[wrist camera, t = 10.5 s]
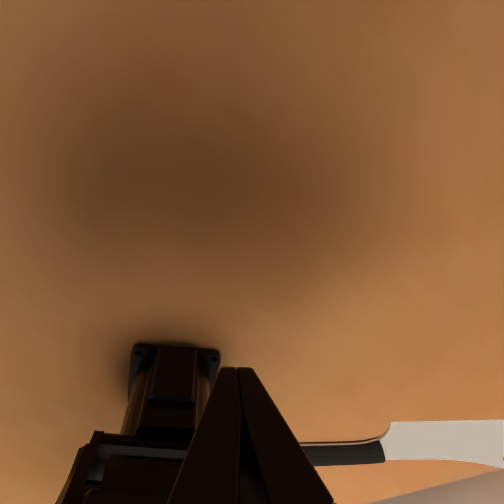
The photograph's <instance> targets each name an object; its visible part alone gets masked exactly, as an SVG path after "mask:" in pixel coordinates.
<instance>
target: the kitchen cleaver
mask: <svg viewBox="0 0 504 504" xmlns="http://www.w3.org/2000/svg"><path fill="white" fill-rule="evenodd" d="M299 444H300V446H301V447H302V449H303V450H304V452H305V454H306V455H307V457H308V459H309V460H310V462H311V463H312V465H313V466H333V465H358V464H373V463H383V462H385V460H409V459H442V460H456V461H466V462H474V463H480V464H486V465H490V466H494V467H499V468H504V459H503V458H504V420H465V421H419V422H391V424H390V426H389V428H388V429H387V431H386V432H385V433H384V434H383V435H382V436H380V437H379V438H372V439H368V440H363V441H351V442H314V443H299Z"/></svg>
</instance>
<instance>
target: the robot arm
mask: <svg viewBox="0 0 504 504" xmlns="http://www.w3.org/2000/svg"><path fill="white" fill-rule="evenodd" d="M138 350H140V351H138ZM213 357H214V358H213ZM220 360H221V359H220V352H218V351H215V350H204V349H193V348H183V347H172V346H161V345H150V344H135V345H134V346H133V348H132V351H131V363H130V376H129V389H128V405H127V409H126V412H125V416H124V420H123V423H122V427H121V431H120V434H109V433H104V431H94V433H93V436H92V438H91V441H90V443H89V444H86V445H85V446H83V447H81V448H79V450H78V453H77V456H76V458H75V461H74V464H73V466H72V469H71V472H70V474H69V477H68V479H67V481H66V483H65V485H64V487H63V489H62V491H61V493H60V495H59V497H58V499H57V501H56V503H55V504H333V503H334V499H333V497H332V496H331V494H330V493H329V491H328V489H327V488H326V486H325V484H324V483H323V481H322V480H321V478H320V476H319V475H318V473H317V471H316V470H315V468H314V467H313V465H312V463H311V462H310V460H309V459H308V457H307V455H306V454H305V452H304V450H303V449H302V447H301V446H300V444H299V442H298V441H297V439H296V438H295V436H294V434H293V433H292V431H291V429H290V428H289V426H288V425H287V423H286V421H285V420H284V418H283V417H282V415H281V413H280V412H279V410H278V408H277V407H276V405H275V404H274V402H273V400H272V399H271V397H270V396H269V394H268V392H267V391H266V389H265V387H264V386H263V384H262V383H261V381H260V379H259V378H258V376H257V375H256V373H255V371H254V370H253V369H252V368H250V367H238V368H237V369H236V368H235V367H221V368H220V369H219V372H218V374H217V371H218V368H219V364H220ZM216 375H217V377H216ZM334 504H336V503H334Z"/></svg>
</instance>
